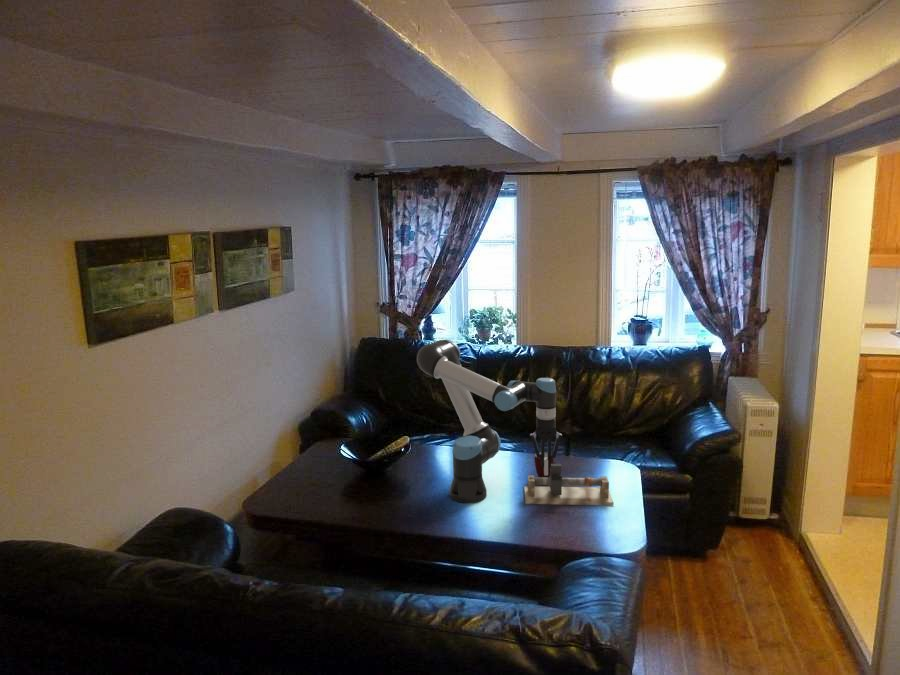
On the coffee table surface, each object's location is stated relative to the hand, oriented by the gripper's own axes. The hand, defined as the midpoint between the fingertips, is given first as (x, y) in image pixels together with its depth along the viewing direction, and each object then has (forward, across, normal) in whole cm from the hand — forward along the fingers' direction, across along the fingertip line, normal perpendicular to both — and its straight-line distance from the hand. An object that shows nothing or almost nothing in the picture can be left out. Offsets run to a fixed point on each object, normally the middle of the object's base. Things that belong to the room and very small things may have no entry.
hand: (546, 474), depth 254 cm
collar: (+7, +4, 0) cm, 8 cm away
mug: (+10, +1, +19) cm, 22 cm away
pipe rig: (+10, +9, 0) cm, 13 cm away
